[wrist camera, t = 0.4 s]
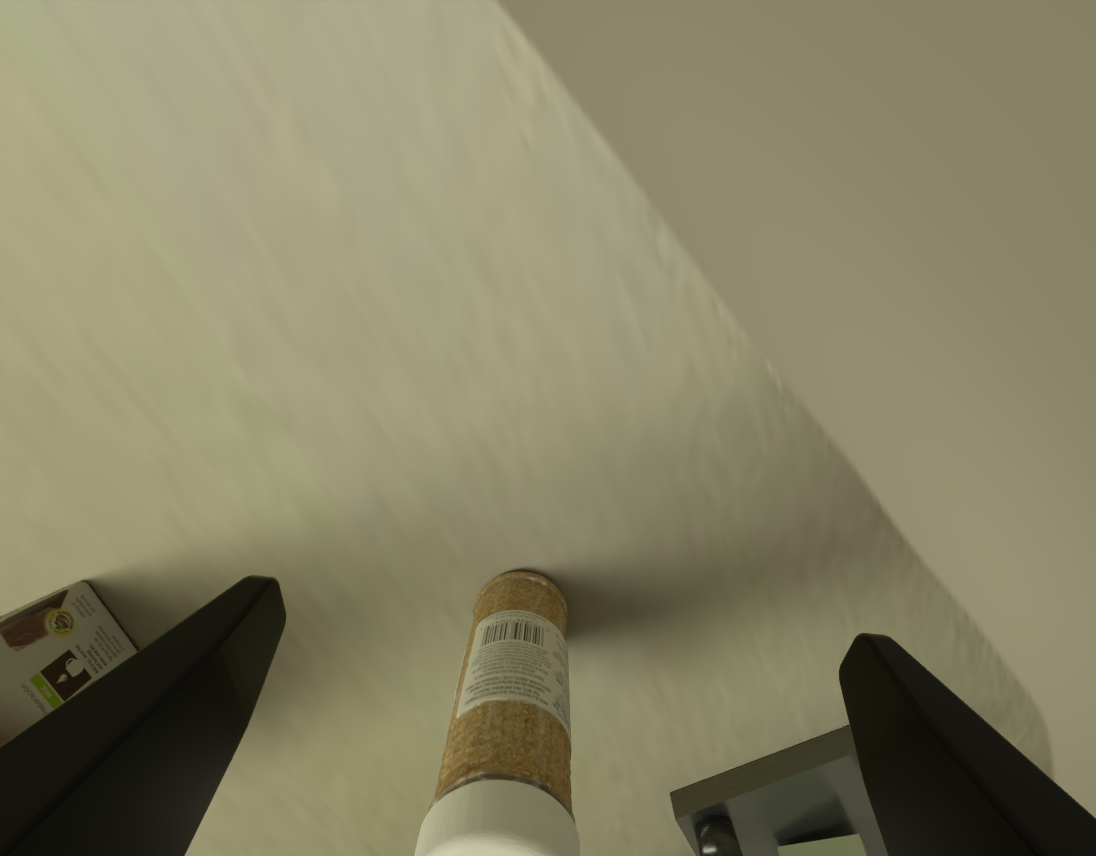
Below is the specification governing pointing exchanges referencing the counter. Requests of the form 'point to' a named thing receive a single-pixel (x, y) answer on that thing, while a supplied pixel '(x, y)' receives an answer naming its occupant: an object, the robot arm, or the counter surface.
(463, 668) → the sprinkles bottle
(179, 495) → the counter surface
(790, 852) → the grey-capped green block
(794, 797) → the plate
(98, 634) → the coffee box
